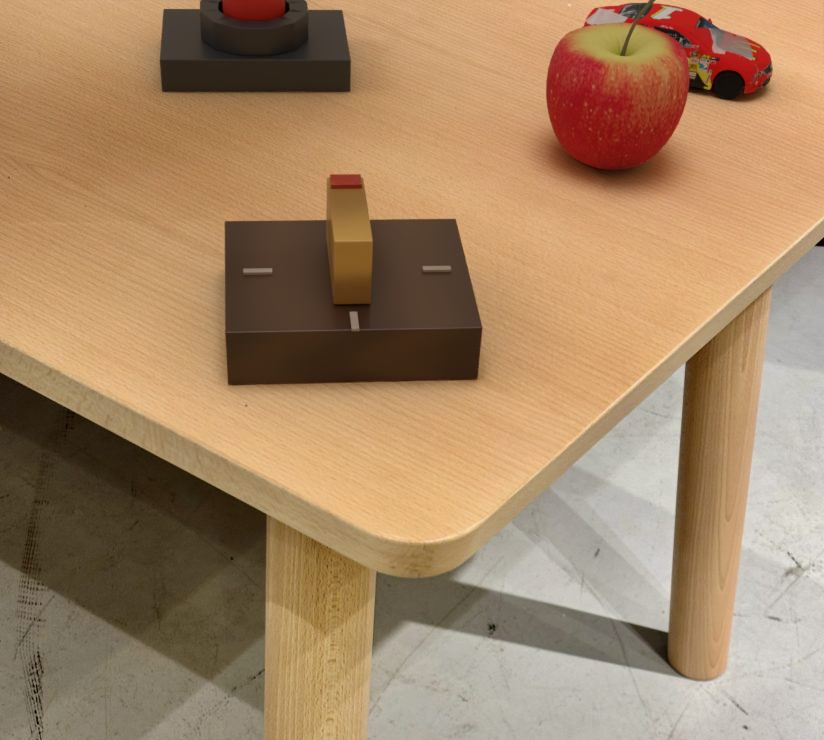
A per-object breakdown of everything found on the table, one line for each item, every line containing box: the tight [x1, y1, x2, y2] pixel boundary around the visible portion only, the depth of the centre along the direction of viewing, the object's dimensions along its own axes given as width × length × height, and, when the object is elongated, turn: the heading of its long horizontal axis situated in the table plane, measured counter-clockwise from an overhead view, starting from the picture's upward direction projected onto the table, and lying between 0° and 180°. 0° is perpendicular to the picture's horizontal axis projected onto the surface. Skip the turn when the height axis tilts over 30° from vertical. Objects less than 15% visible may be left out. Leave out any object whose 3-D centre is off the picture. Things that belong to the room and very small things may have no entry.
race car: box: [582, 2, 774, 100], centre depth 93 cm, size 13×5×4 cm, turn 69°
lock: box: [325, 173, 373, 305], centre depth 67 cm, size 6×2×4 cm, turn 6°
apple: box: [545, 0, 690, 171], centre depth 81 cm, size 8×8×10 cm
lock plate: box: [224, 218, 483, 385], centre depth 69 cm, size 12×10×3 cm
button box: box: [159, 0, 352, 93], centre depth 90 cm, size 12×8×4 cm, turn 96°
